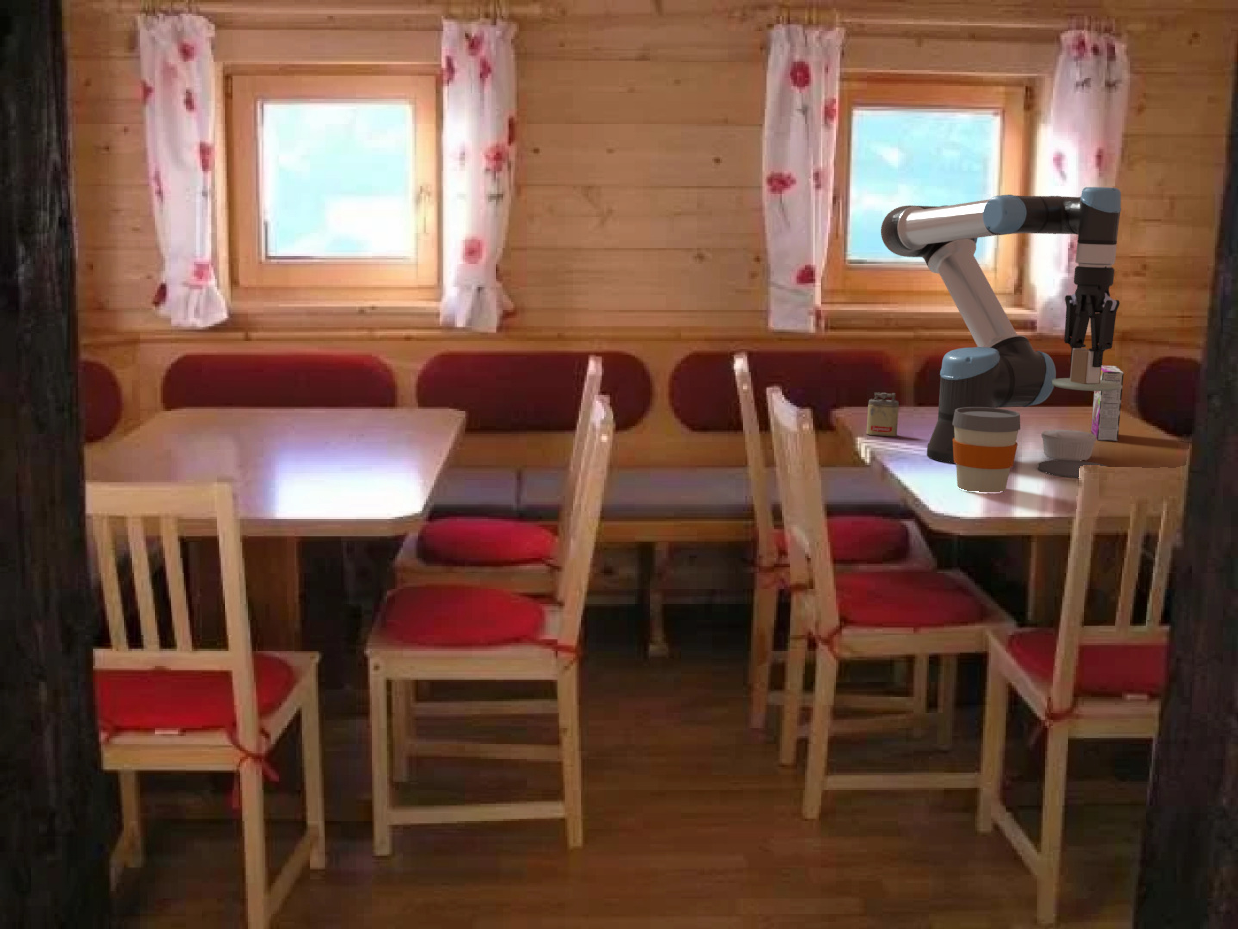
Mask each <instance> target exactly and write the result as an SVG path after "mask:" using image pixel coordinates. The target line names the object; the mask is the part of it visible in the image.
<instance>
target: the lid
mask: <svg viewBox="0 0 1238 929" xmlns="http://www.w3.org/2000/svg"><path fill="white" fill-rule="evenodd" d="M1089 349H1090V348H1088V349H1087V348H1086V349H1083V350H1073V362H1072V373H1071V372H1070V374H1071V380H1070V377H1063V378H1062V377H1061V378H1056V379H1053V380H1052V385H1053V386H1054V388H1055V387H1056V388H1060V389H1064V390H1065V389H1067V390H1073V391H1074V390H1076V391H1086V392H1087V391H1088V392H1089V391H1091V392H1094V391H1112V390H1118V389H1119V384H1118V383H1115V382H1111V381H1105V380H1100V377H1101V367H1100V376H1099V383H1090V384H1088V383H1086V375H1087V364H1088V353H1089V352H1088V351H1089Z"/></svg>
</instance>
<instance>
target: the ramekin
mask: <svg viewBox="0 0 1238 929" xmlns="http://www.w3.org/2000/svg"><path fill="white" fill-rule="evenodd" d="M1041 438H1042V443H1043V444H1042V446H1043V454H1044V455H1045V456H1046V457H1047V458H1048V457H1049V458H1048V459H1052V460H1074V461H1080V460H1081V461H1082V460H1085V461H1088V460H1089V459H1090V458H1091V456H1092V455H1093V450H1094V446H1095V442H1096V441H1097V439H1096V435H1094V434H1092V432H1088V431H1081V430H1072V429H1071V430H1070V429H1050V430H1044V431H1042V432H1041Z"/></svg>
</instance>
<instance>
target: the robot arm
mask: <svg viewBox="0 0 1238 929" xmlns="http://www.w3.org/2000/svg"><path fill="white" fill-rule="evenodd" d="M1121 197H1122V193H1121V190H1120V189H1119V188H1117V187H1109V186H1108V187H1106V186H1105V187H1103V186H1088V187H1087V186H1085V187H1084V188H1082V190H1081V195H1080V196H1079V197H1078V196H1062V195H1050V196H1049V195H1014V194H1002V195H995V196H994V195H993V197H991V198H989V199H983V200H976V201H971V202H970V201H969V202H964V203H963V202H962V203H957V204H951V205H945V204H944V205H940V206H933V205H932V206H931V205H901V206H898V207H896V208H894V209H893V210H890V211H889V213H888V214H887V215H886V216H884V219H883V220H882V223H881V227H880V235H881V236H880V237H881V240H882V242H883V245H884V246H885V247H886V248H887V249H888V250H889V252H891V253H893V254H894V255H897V256H900V257H907V258H922V259H923V261H924V262H925V264H926V266H927V267H928V270H929V271H930V272H931V273H934V274H939V276H940V277H941V280H942V281H943V284H944V286H945V287H946V289H947V291H948V293H949V295H950V297H951V298H952V300H953V302H954V304H955V306H956V308H957V310H958V312H959V314H960V316H961V318H962V319H963V322H964V324H965V325H966V327H967V328H968V331H969V332H970V334H971V336H972V339H973V340H974V343H975V344H976V347H975V346H974V347H970V346H969V347H962V348H961V347H960V348H956V349H952V350H950V351H948V352H946V353H945V354H944V356H943V358H942V362H941V369H940V372H939V375H940V382H939V399H938V412H937V421H936V424H935V426H934V429H933V432H932V434H931V437H930V440H929V442H928V444H927V450H926V456H927V457H928V458H930V459H932V460H935V461H938V462H939V461H940V462H944V463H951V464H956V463H955V462H954V455H953V438H955V433H954V426H953V425H952V423H953V418H954V412H955V409H958V408H964V407H988V408H999V409H1003V408H1013V407H1014V408H1015V407H1023V408H1026V407H1027V408H1028V407H1030V406H1035V405H1040V404H1041V403H1043V402H1045V401H1046V400H1047V399H1048V398H1049V397H1050V395H1051V394H1052V392H1053V390H1054V388H1055V386H1053V385H1052V380H1053V379H1057V378H1056V376H1057V370H1056V365H1055V363H1054V361H1053V358H1052V357H1051V356H1050V355H1049V354H1047V353H1046V352H1043V351H1040V350H1037V351H1036V350H1034V348H1033V346H1032V344H1031V342H1030V340H1029V339H1028V337H1026V336H1025V335H1022V334H1017V332H1016V329H1015V328H1014V326H1013V324H1012V322H1011V321H1010V320H1009V319H1010V318H1009V317H1008V316H1007V313H1006V312H1005V309H1004V308H1003V306H1002V305H1001V303H1000V301H999V299H998V297H997V295H996V293H995V292H994V291H995V290H993V287H992V286H991V284H990V283H989V281H988V279H987V277H986V275H985V273H984V271H983V270H982V268H981V266H980V264H979V262H978V261H977V258H976V257H975V253H976V251H977V243H978V239H979V238H985V237H987V238H988V237H992V236H994V237H995V236H1005V235H1014V234H1015V235H1016V234H1039V235H1040V234H1046V235H1047V234H1052V235H1056V234H1057V235H1059V234H1060V235H1076V236H1077V239H1076V240H1077V243H1076V252H1075V260H1074V261H1075V263H1076V264H1078V265H1077V266H1075V267H1074V275H1073V283H1074V285H1076V288H1075V292H1074V293H1073V294H1071V295H1070V294H1066V295H1065V297H1064V301H1065V308H1066V309H1065V322H1064V324H1065V325H1064V338H1063V339H1064V344H1067V345H1069V347H1070V348H1071V350H1070V360H1069V361H1070V363H1071V364H1070V365H1071V366H1070V373H1069V374H1070V376H1069V378H1070V380H1071V373H1072V362H1073V350H1083V349H1087V348H1086V347H1087V344H1084V343H1085V340H1086V336H1087V335H1086V334H1087V331H1088V326H1089V323H1090V335H1091V337H1090V338H1091V341H1090V342H1091V348H1088V349H1089V351H1088V352H1089V353H1088V364H1087V375H1086V383H1088V384H1090V383H1099V376H1100V367H1101V366H1102V365H1103V362H1104V360H1103V359H1104V352H1106V351H1107V350H1111V349H1112V347H1113V345H1114V344H1113V343H1114V342H1113V341H1114V336H1115V334H1114V333H1115V326H1116V316H1117V311H1118V309H1119V306H1120V303H1121V302H1120V300H1118V299H1113V298H1112V297H1111V294H1110V287H1112V286H1113V285H1114V278H1115V268H1114V267H1112V266H1113V265H1115V264H1116V256H1117V254H1116V253H1117V244H1118V235H1119V224H1120V216H1121V211H1122V207H1121V206H1122V202H1121V200H1122V198H1121Z"/></svg>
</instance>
